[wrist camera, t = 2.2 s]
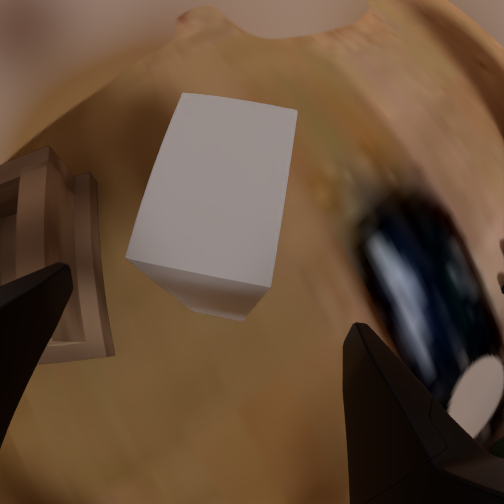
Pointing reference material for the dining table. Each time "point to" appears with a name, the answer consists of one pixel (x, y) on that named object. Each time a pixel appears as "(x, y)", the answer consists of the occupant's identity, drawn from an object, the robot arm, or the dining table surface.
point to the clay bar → (216, 204)
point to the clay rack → (56, 247)
